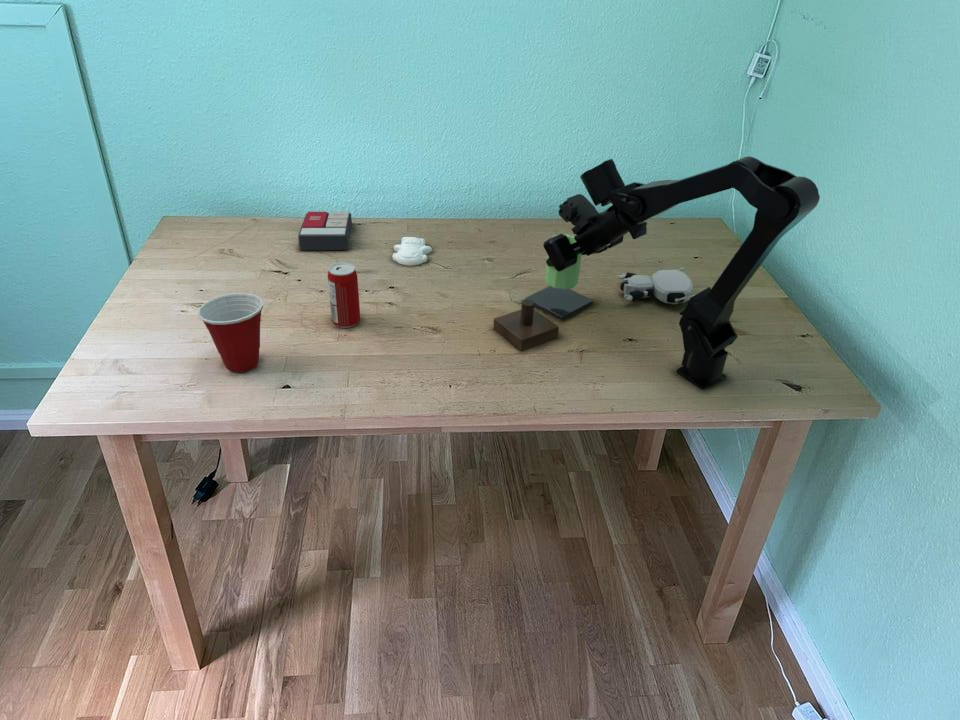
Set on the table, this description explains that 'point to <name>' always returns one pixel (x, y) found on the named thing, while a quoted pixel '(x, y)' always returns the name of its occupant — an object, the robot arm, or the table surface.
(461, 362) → the table surface
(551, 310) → the slate coaster
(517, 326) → the stacking stand
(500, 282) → the table surface
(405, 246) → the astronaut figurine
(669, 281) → the robot toy
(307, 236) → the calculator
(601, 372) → the table surface
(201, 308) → the plastic cup
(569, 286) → the green faceted hollow cylinder
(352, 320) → the soda can
